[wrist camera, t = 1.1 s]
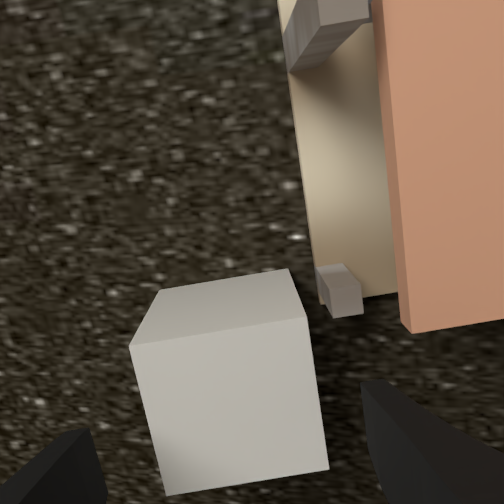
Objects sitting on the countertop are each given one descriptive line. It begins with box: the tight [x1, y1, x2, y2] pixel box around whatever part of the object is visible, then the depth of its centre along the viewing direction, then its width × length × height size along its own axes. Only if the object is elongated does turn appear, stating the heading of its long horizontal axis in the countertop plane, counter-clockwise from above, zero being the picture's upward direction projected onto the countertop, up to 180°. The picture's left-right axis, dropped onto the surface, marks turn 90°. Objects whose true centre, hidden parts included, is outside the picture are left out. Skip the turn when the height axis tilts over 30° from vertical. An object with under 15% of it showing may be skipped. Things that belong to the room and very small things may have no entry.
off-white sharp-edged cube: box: [129, 269, 329, 496], centre depth 15 cm, size 5×5×5 cm
